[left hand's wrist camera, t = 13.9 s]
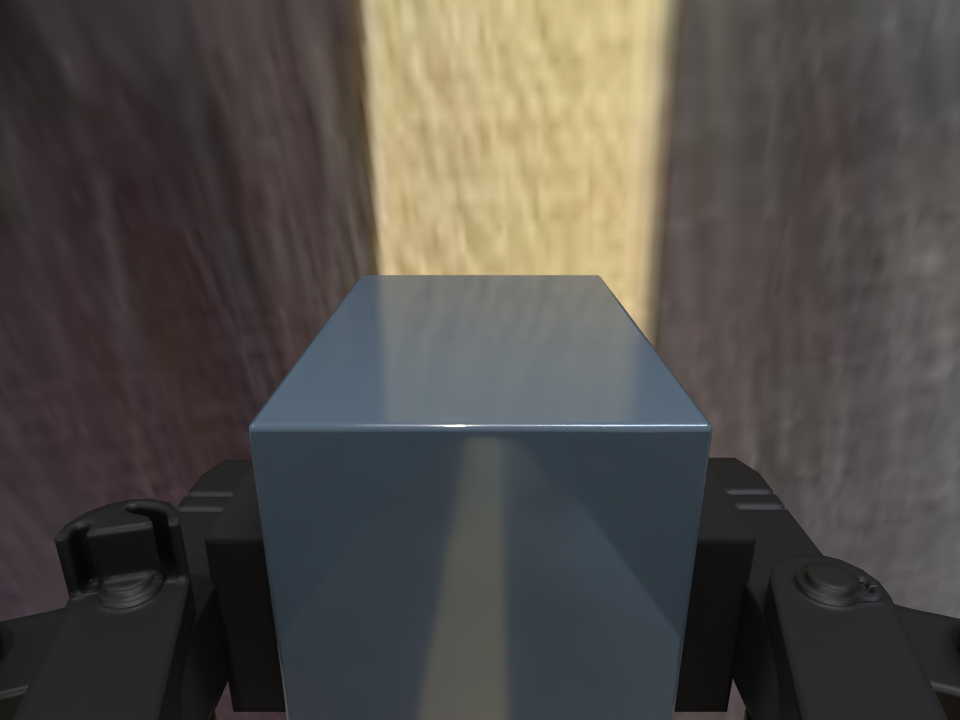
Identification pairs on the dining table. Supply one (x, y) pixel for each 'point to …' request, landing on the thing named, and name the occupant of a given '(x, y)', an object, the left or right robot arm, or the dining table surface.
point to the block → (480, 506)
